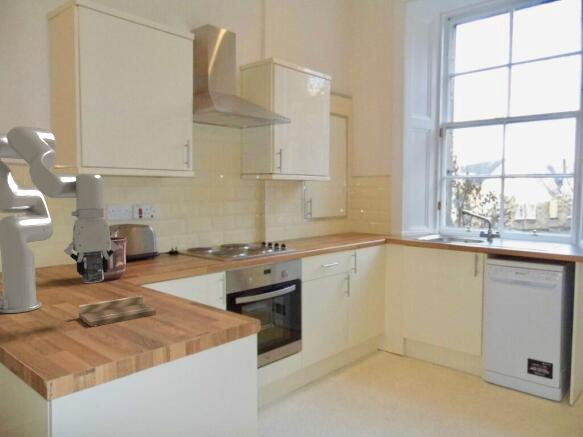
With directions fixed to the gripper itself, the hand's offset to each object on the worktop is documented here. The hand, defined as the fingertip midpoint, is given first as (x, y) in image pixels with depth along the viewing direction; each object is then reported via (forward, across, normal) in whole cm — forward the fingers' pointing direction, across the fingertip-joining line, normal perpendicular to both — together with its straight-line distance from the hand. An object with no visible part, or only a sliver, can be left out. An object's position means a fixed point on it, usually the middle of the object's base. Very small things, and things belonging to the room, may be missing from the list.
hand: (92, 272), depth 138 cm
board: (+15, +7, -1) cm, 16 cm away
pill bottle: (+3, 0, 0) cm, 3 cm away
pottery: (+15, +24, +63) cm, 69 cm away
